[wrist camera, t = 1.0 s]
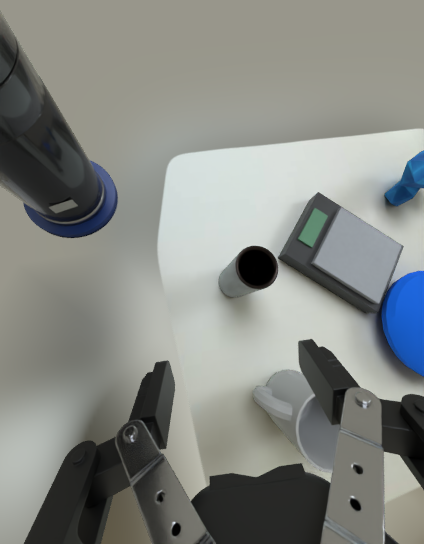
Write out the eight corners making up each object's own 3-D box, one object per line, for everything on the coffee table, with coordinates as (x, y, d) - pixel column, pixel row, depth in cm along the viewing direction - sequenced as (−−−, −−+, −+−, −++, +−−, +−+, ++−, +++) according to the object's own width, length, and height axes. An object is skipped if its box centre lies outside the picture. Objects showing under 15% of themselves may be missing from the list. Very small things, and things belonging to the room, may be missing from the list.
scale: (277, 257, 34) (287, 252, 31) (309, 199, 37) (321, 189, 33) (364, 312, 34) (383, 312, 31) (389, 250, 37) (409, 244, 34)
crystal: (477, 163, 34) (463, 194, 29) (414, 198, 42) (394, 228, 36) (443, 128, 34) (423, 153, 29) (387, 170, 42) (363, 195, 37)
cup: (306, 432, 29) (359, 481, 21) (236, 412, 29) (260, 454, 20) (316, 376, 31) (369, 400, 22) (250, 356, 30) (278, 372, 22)
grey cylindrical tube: (249, 296, 32) (281, 288, 22) (219, 298, 31) (237, 290, 21) (247, 266, 33) (276, 245, 23) (217, 267, 32) (233, 245, 22)
